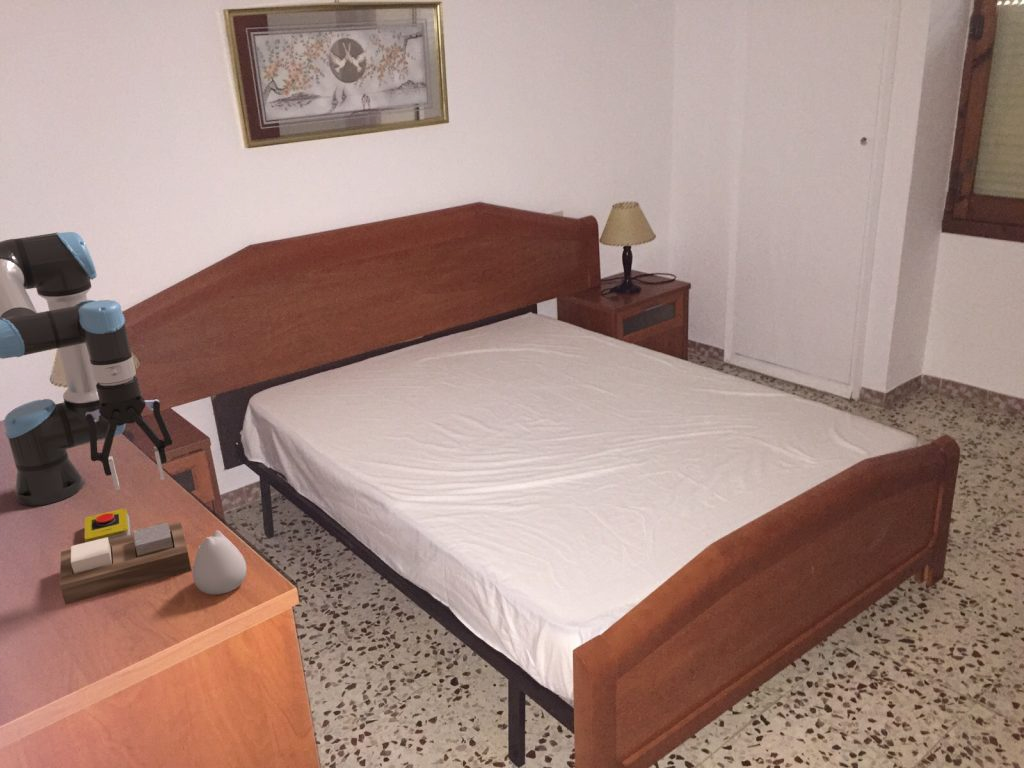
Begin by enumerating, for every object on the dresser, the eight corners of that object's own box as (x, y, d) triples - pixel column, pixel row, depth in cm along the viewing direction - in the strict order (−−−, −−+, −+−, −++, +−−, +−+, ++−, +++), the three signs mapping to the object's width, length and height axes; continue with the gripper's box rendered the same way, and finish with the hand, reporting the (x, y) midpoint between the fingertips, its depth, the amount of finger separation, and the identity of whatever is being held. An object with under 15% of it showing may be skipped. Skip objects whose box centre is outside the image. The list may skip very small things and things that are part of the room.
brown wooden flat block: (66, 569, 177) (60, 551, 175) (184, 539, 186) (180, 522, 185) (65, 604, 165) (59, 585, 163) (191, 570, 175) (187, 551, 173)
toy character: (219, 566, 175) (209, 517, 171) (259, 576, 171) (250, 525, 167) (184, 594, 166) (172, 542, 162) (225, 604, 163) (215, 552, 158)
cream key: (74, 560, 174) (71, 546, 172) (111, 550, 176) (107, 537, 175) (74, 576, 168) (70, 562, 166) (112, 567, 170) (108, 552, 169)
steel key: (136, 544, 178) (133, 530, 177) (171, 535, 181) (168, 522, 180) (138, 560, 172) (135, 546, 171) (174, 550, 175) (171, 536, 174)
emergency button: (125, 500, 197) (127, 528, 184) (129, 516, 199) (132, 545, 186) (82, 510, 193) (82, 539, 181) (87, 526, 195) (86, 557, 182)
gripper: (56, 396, 156) (84, 502, 164) (173, 374, 164) (194, 477, 172) (57, 384, 162) (84, 487, 170) (170, 364, 170) (190, 463, 179)
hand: (139, 482), depth 171 cm, fingers open, 8 cm apart
